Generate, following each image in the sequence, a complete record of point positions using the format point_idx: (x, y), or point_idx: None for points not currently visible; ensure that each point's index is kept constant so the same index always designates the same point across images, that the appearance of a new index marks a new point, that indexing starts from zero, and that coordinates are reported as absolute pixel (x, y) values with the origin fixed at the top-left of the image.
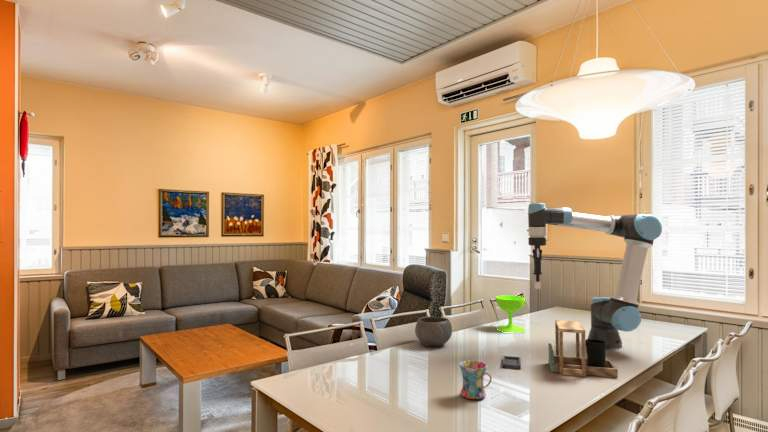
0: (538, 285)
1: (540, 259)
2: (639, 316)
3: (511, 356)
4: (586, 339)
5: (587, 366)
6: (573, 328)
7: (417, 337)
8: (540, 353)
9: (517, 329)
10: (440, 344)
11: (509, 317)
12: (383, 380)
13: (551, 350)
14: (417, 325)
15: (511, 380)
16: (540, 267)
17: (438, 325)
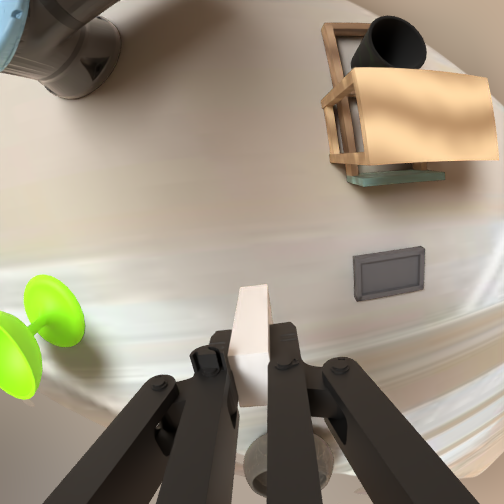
0: (270, 313)
1: (466, 497)
2: None
3: (357, 281)
4: (390, 65)
5: None
6: (482, 111)
7: None
8: (255, 209)
9: (51, 297)
10: None
11: (36, 331)
12: (485, 411)
13: (439, 178)
14: None
15: (481, 255)
16: (393, 408)
17: (327, 466)
